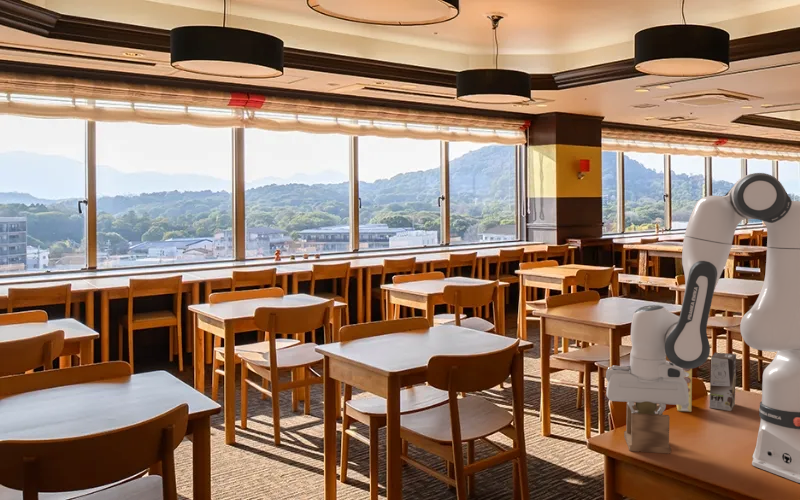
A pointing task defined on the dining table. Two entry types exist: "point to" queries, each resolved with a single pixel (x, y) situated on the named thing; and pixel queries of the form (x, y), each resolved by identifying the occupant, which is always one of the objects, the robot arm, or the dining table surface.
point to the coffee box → (722, 381)
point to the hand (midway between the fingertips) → (646, 418)
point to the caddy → (647, 431)
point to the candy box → (689, 382)
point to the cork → (646, 407)
